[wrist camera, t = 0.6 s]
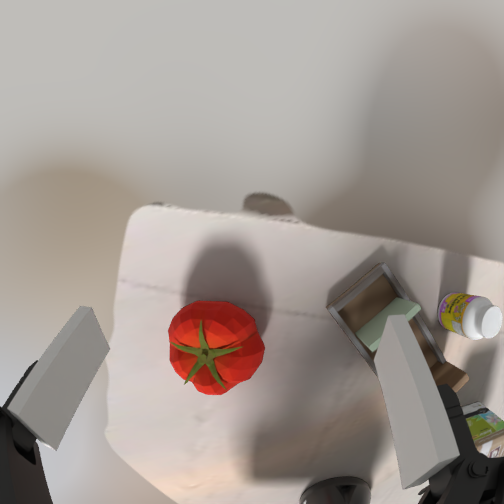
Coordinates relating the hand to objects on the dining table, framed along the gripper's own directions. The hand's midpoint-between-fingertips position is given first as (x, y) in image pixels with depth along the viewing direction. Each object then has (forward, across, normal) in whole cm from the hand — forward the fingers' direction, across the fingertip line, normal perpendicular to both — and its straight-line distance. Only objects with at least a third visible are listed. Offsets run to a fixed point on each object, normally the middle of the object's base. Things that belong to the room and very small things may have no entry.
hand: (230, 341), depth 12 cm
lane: (+24, -21, +24) cm, 40 cm away
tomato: (+25, +7, +24) cm, 35 cm away
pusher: (+24, -19, +21) cm, 37 cm away
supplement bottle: (+26, -33, +21) cm, 47 cm away
